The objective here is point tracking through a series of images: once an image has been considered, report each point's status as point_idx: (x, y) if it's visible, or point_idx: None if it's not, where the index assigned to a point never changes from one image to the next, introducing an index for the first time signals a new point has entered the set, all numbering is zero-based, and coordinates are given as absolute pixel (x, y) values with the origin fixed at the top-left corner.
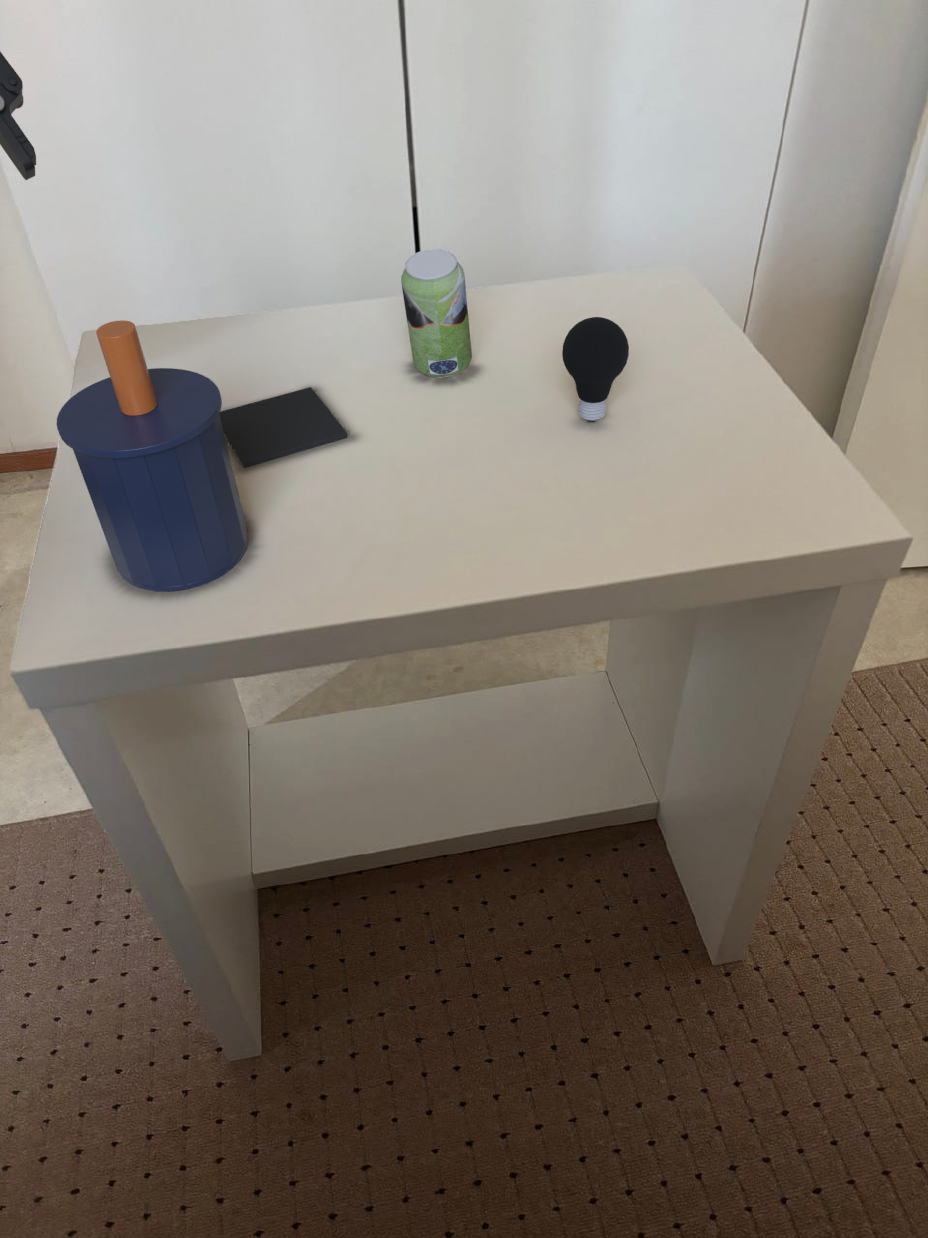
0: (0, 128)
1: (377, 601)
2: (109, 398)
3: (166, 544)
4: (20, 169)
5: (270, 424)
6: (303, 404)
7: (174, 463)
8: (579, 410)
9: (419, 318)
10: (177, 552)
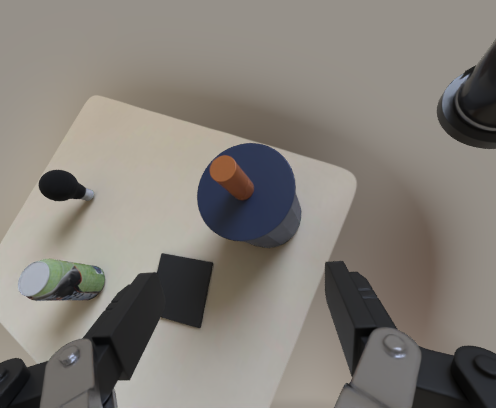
0: (120, 316)
1: (220, 139)
2: (253, 210)
3: None
4: (158, 301)
5: (183, 289)
6: None
7: None
8: (90, 197)
9: (75, 272)
10: None
